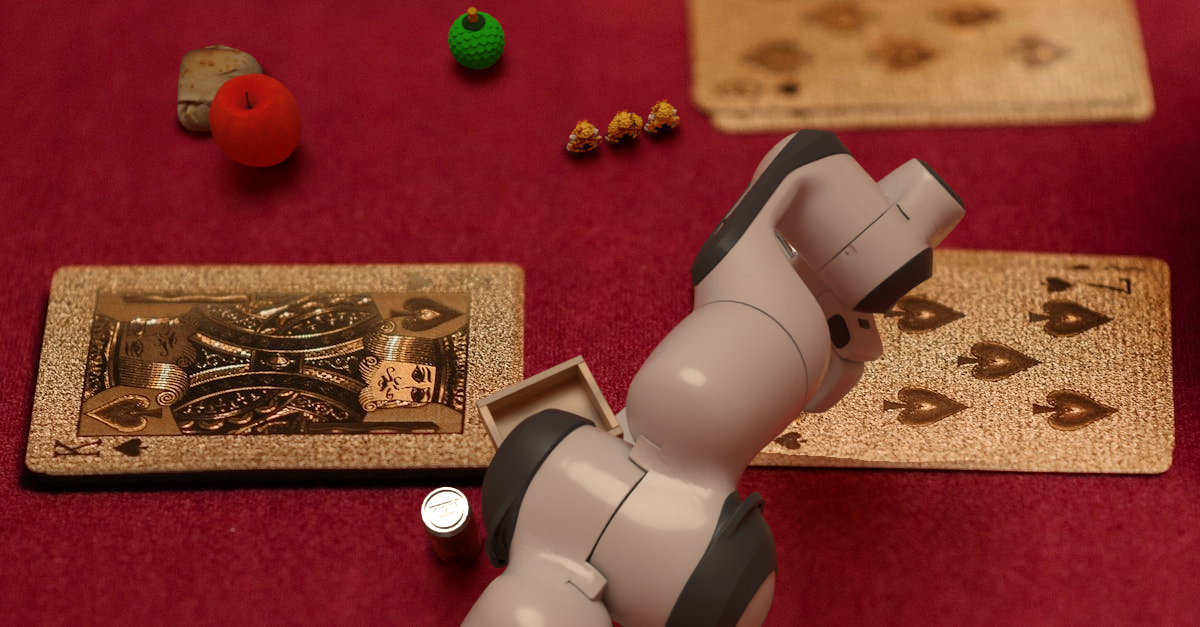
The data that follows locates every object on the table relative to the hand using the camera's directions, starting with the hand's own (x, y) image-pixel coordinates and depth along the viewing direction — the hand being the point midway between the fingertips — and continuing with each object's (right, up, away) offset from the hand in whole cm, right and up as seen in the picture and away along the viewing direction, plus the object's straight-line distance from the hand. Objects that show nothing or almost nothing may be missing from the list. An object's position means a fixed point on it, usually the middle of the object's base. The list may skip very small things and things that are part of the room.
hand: (732, 366), depth 118 cm
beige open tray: (-19, -6, -13) cm, 24 cm away
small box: (-10, -12, +11) cm, 19 cm away
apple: (-60, +28, +33) cm, 74 cm away
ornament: (-32, +43, +42) cm, 68 cm away
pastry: (-69, +37, +38) cm, 87 cm away
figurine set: (-11, +30, +34) cm, 47 cm away
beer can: (-31, -21, +6) cm, 37 cm away
